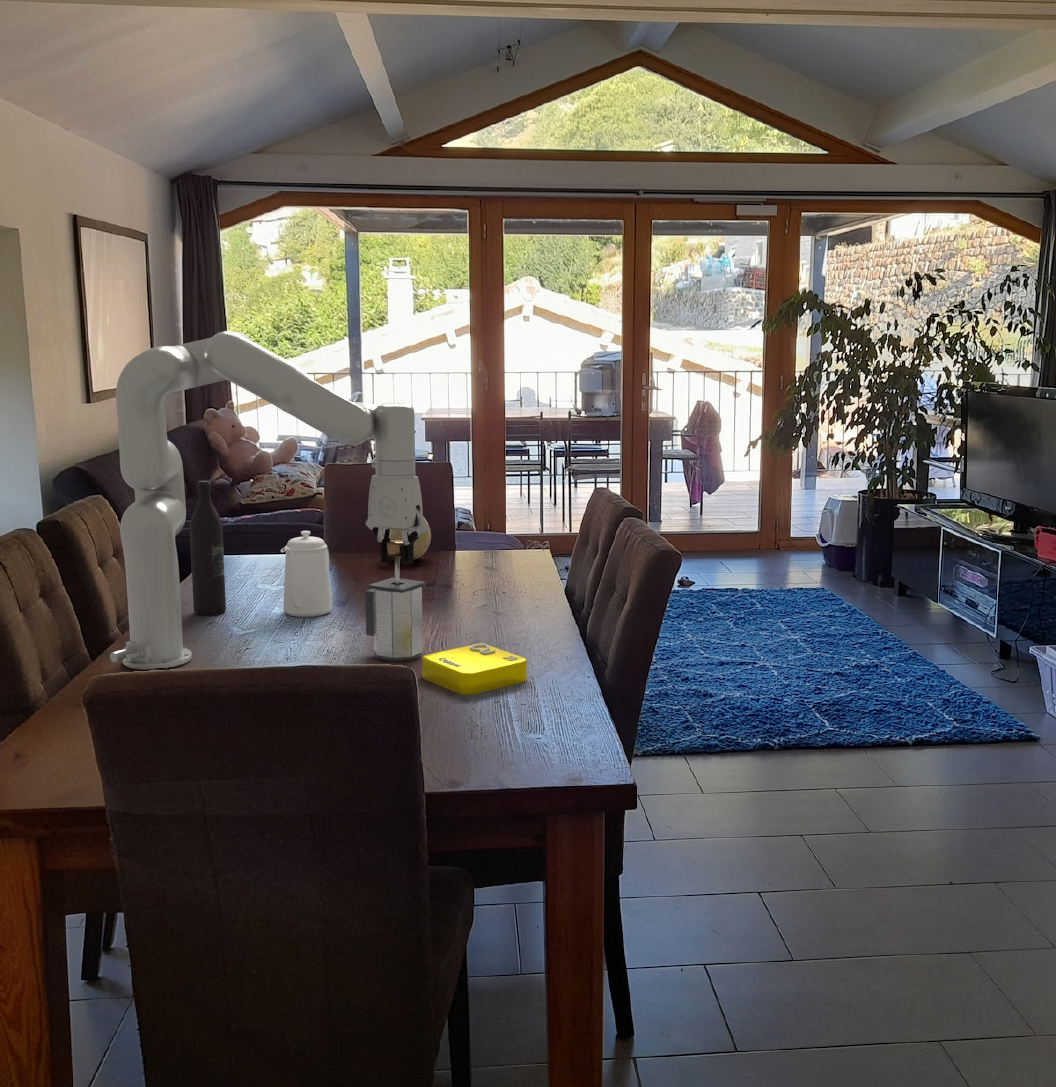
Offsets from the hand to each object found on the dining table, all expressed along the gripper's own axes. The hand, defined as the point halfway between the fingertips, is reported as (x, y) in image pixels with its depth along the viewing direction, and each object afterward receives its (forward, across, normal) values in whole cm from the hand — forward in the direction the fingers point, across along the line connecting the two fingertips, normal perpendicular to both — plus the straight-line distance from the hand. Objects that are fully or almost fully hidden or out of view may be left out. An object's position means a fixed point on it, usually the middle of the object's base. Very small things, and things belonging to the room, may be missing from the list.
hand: (397, 561), depth 210 cm
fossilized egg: (+19, -53, +80) cm, 98 cm away
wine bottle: (+19, -57, +7) cm, 60 cm away
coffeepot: (+19, -38, +18) cm, 46 cm away
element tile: (+20, +20, -5) cm, 29 cm away
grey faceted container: (+19, -1, 0) cm, 19 cm away
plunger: (+11, 0, 0) cm, 11 cm away
